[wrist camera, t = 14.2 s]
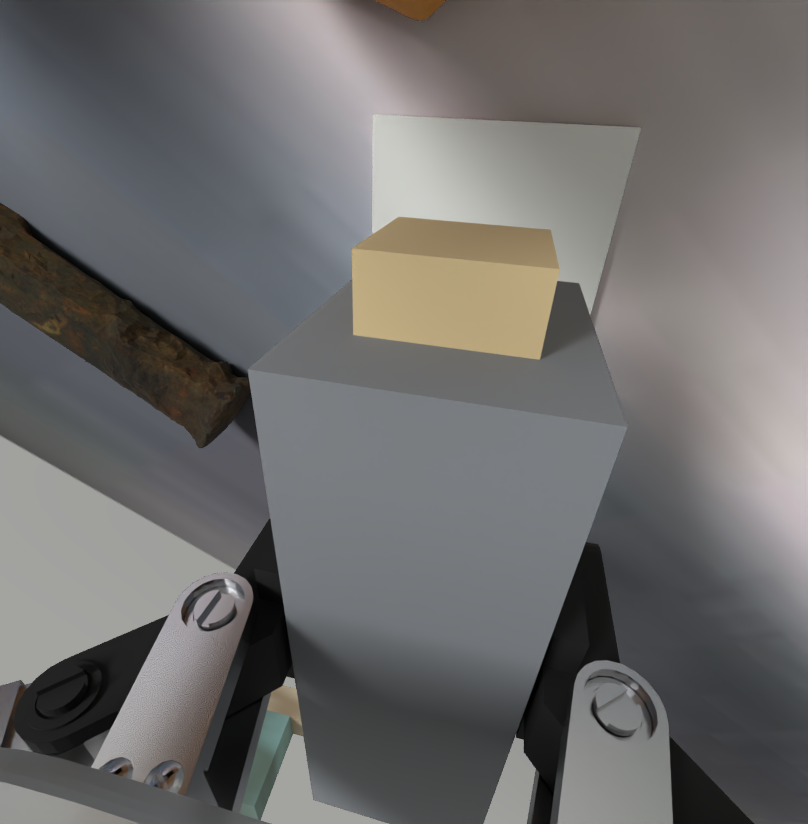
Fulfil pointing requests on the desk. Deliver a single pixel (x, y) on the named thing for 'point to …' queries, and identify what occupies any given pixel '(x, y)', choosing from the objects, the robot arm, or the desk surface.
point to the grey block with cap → (431, 506)
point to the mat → (508, 180)
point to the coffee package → (414, 7)
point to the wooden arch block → (271, 749)
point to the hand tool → (115, 335)
